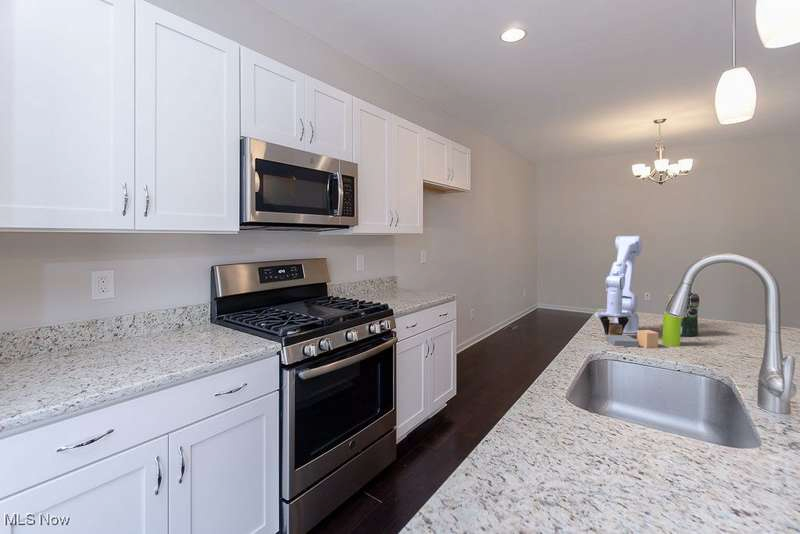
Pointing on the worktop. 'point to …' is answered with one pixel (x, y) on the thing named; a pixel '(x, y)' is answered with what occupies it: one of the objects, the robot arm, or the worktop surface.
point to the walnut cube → (615, 329)
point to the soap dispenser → (671, 330)
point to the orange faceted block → (648, 338)
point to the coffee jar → (691, 318)
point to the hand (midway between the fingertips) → (613, 333)
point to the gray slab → (622, 340)
